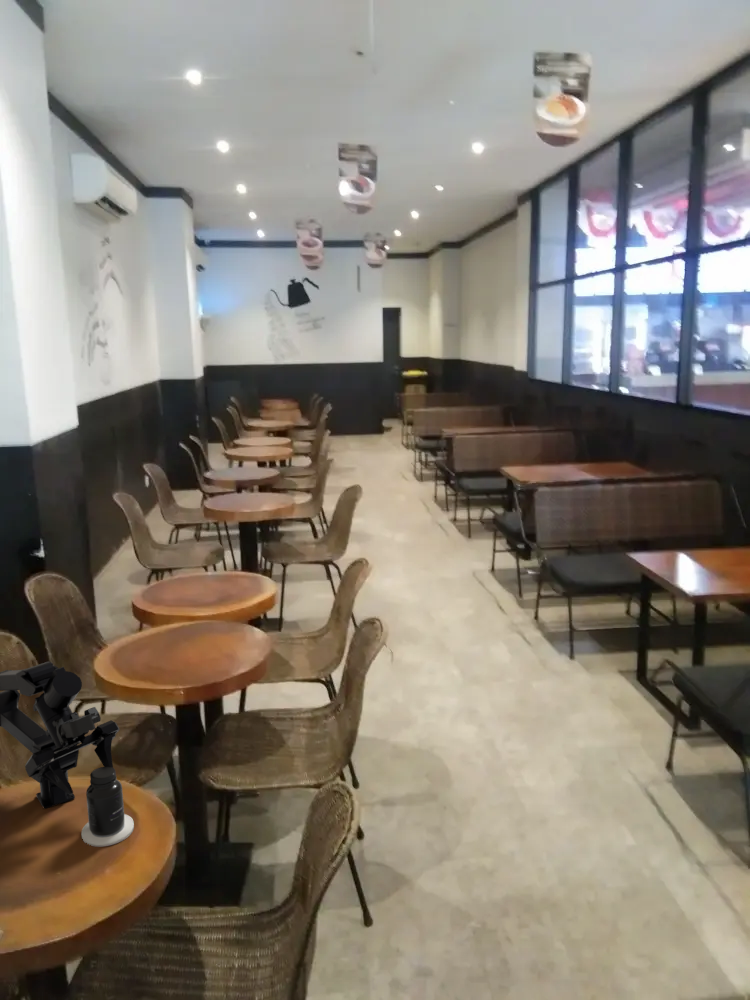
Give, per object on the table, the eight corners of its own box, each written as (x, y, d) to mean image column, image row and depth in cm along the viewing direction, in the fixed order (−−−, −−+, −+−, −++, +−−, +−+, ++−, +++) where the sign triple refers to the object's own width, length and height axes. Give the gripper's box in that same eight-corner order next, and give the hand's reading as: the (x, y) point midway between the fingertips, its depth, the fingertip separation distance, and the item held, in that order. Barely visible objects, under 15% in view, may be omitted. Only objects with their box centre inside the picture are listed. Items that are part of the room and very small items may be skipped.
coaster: (75, 828, 158) (74, 824, 158) (123, 810, 164) (123, 806, 164) (91, 853, 151) (90, 849, 150) (141, 833, 156) (141, 829, 156)
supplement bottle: (123, 834, 155) (118, 779, 152) (87, 839, 153) (81, 784, 151) (126, 814, 161) (121, 761, 159) (91, 819, 160) (86, 765, 157)
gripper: (27, 717, 151) (63, 788, 147) (111, 684, 165) (146, 748, 161) (10, 742, 157) (44, 810, 153) (92, 708, 172) (126, 770, 167)
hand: (92, 783), depth 158 cm, fingers open, 9 cm apart
